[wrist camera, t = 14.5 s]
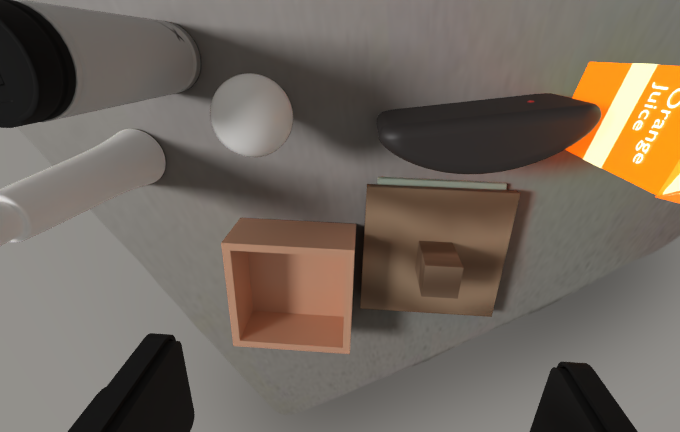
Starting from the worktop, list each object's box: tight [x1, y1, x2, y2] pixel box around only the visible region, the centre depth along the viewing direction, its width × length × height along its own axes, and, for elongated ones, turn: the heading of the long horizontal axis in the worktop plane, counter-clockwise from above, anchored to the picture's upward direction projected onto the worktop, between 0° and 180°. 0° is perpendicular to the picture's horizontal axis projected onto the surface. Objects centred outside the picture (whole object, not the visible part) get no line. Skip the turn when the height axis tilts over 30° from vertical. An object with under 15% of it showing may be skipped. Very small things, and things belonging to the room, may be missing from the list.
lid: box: [360, 184, 520, 317], centre depth 38 cm, size 15×15×6 cm
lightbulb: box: [210, 73, 293, 157], centre depth 31 cm, size 6×6×11 cm
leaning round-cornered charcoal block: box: [377, 94, 601, 174], centre depth 32 cm, size 16×5×9 cm, turn 97°
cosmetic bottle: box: [0, 129, 166, 246], centre depth 30 cm, size 6×6×22 cm
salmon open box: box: [221, 218, 356, 354], centre depth 41 cm, size 13×13×6 cm
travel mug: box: [0, 0, 201, 128], centre depth 26 cm, size 6×7×20 cm
